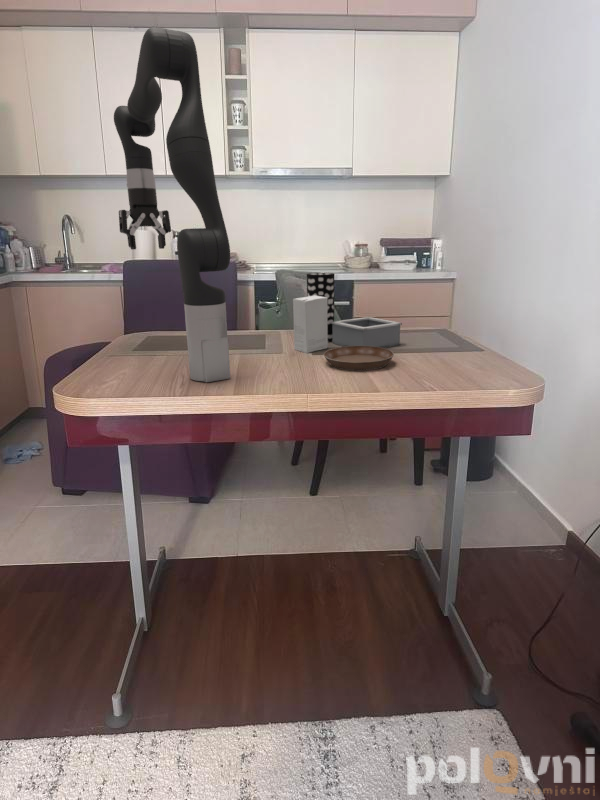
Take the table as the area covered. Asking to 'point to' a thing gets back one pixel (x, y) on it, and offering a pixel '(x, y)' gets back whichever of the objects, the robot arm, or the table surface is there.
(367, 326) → the bin
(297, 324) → the skincare box
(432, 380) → the table surface
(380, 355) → the plant saucer
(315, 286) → the white-spotted black cylinder
